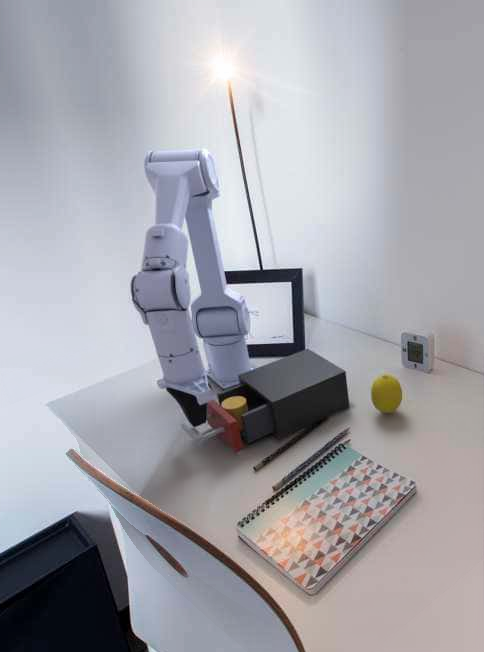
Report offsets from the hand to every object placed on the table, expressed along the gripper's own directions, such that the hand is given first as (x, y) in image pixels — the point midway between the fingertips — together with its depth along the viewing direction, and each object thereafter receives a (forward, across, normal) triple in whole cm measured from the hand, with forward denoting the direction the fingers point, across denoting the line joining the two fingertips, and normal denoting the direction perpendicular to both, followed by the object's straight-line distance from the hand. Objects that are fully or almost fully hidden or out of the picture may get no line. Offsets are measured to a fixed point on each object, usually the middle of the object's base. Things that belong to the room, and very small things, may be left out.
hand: (198, 423), depth 85 cm
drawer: (+5, 0, +7) cm, 8 cm away
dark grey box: (+5, 0, +18) cm, 18 cm away
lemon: (+6, +13, +28) cm, 32 cm away
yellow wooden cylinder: (+3, 0, +6) cm, 7 cm away
